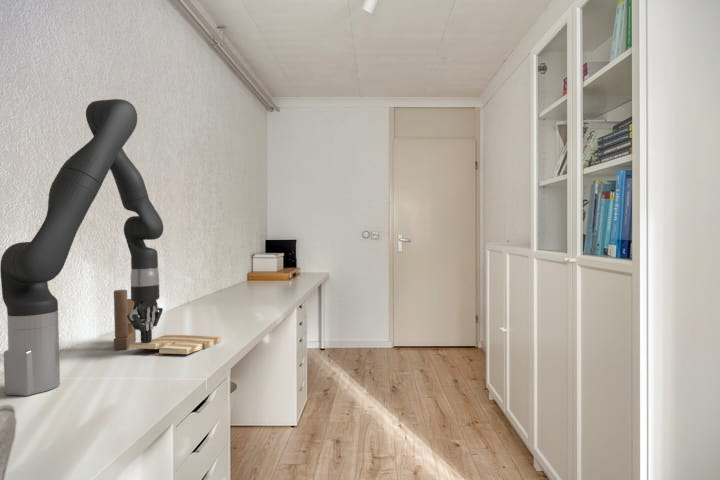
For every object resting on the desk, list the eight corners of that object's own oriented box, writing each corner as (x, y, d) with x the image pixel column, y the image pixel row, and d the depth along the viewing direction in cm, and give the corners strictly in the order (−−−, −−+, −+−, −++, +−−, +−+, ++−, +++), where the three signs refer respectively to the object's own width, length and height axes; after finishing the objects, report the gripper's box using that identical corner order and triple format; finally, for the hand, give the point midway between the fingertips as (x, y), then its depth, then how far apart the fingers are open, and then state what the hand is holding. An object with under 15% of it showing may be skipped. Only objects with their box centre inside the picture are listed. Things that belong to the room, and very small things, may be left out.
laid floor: (204, 349, 132) (204, 343, 132) (145, 347, 136) (145, 341, 136) (221, 341, 142) (221, 336, 142) (165, 339, 146) (165, 334, 146)
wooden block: (136, 341, 144) (134, 286, 144) (126, 349, 134) (125, 290, 134) (123, 342, 143) (122, 287, 143) (113, 350, 133) (111, 291, 133)
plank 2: (186, 354, 124) (186, 348, 124) (159, 353, 126) (159, 347, 126) (202, 348, 132) (202, 343, 132) (176, 347, 134) (176, 342, 134)
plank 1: (155, 349, 126) (155, 343, 126) (128, 348, 128) (128, 342, 128) (172, 347, 134) (172, 342, 134) (146, 347, 135) (147, 342, 136)
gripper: (140, 286, 122) (142, 349, 122) (170, 281, 135) (171, 338, 135) (117, 286, 123) (118, 348, 123) (148, 281, 136) (150, 337, 136)
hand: (146, 343), depth 129 cm, fingers closed
